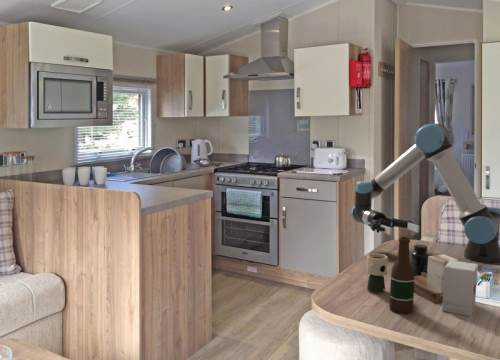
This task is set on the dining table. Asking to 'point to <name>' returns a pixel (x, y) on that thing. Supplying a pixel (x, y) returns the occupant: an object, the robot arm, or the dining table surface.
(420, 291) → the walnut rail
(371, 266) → the character mug
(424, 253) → the supplement bottle
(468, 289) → the supplement box
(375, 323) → the dining table surface
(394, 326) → the dining table surface
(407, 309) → the beer bottle
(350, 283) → the dining table surface
